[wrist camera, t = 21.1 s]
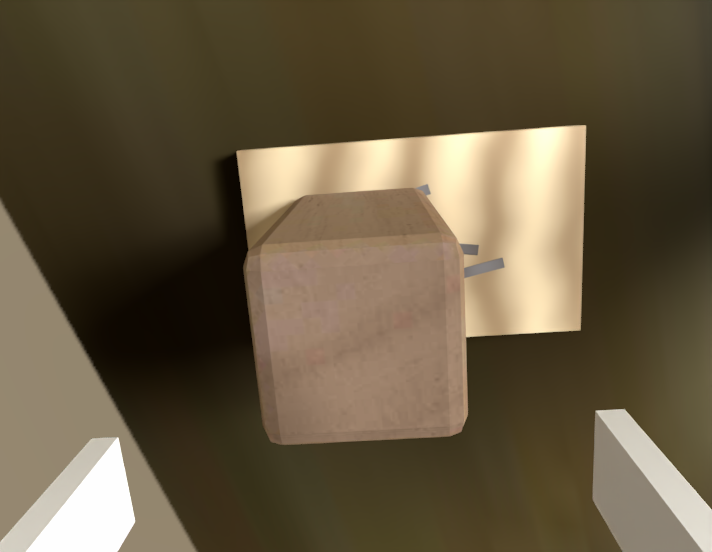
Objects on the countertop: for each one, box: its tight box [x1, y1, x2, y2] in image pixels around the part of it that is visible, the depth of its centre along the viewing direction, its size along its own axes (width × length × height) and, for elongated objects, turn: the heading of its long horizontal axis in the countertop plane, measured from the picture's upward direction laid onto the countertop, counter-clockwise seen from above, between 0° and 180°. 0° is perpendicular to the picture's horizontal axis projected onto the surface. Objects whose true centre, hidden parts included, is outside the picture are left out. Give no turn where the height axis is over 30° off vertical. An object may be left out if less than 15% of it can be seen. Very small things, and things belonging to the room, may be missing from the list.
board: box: [236, 125, 586, 337], centre depth 47 cm, size 26×16×2 cm, turn 94°
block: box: [243, 188, 468, 445], centre depth 36 cm, size 10×10×20 cm
